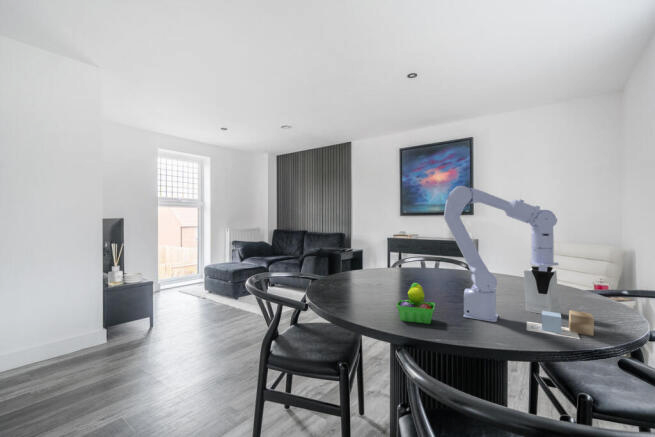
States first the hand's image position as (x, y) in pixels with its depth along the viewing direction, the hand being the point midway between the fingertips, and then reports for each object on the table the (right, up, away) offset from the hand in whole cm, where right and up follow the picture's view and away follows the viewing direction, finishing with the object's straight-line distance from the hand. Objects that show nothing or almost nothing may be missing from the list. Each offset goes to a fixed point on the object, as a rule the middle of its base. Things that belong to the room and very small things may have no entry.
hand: (542, 291), depth 96 cm
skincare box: (+7, -10, +10) cm, 16 cm away
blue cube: (-2, -10, -7) cm, 12 cm away
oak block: (+5, -10, -8) cm, 14 cm away
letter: (-2, -10, -7) cm, 12 cm away
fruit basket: (-39, -10, +3) cm, 40 cm away
